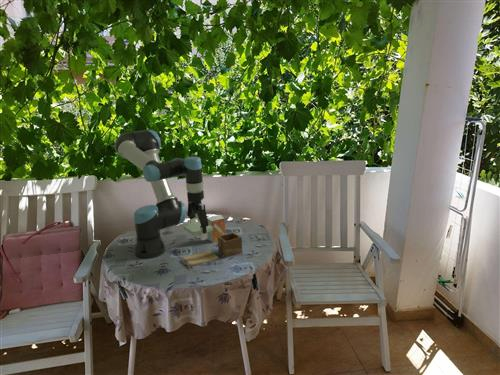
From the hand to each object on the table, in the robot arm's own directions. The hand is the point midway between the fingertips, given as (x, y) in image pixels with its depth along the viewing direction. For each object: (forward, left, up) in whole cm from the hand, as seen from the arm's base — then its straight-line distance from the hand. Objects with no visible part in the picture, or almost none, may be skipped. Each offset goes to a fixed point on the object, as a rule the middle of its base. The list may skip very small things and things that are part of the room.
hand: (198, 235), depth 183 cm
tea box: (+2, +15, -13) cm, 20 cm away
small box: (-16, +17, -13) cm, 27 cm away
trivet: (0, 0, -13) cm, 13 cm away
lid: (0, 0, +3) cm, 3 cm away
